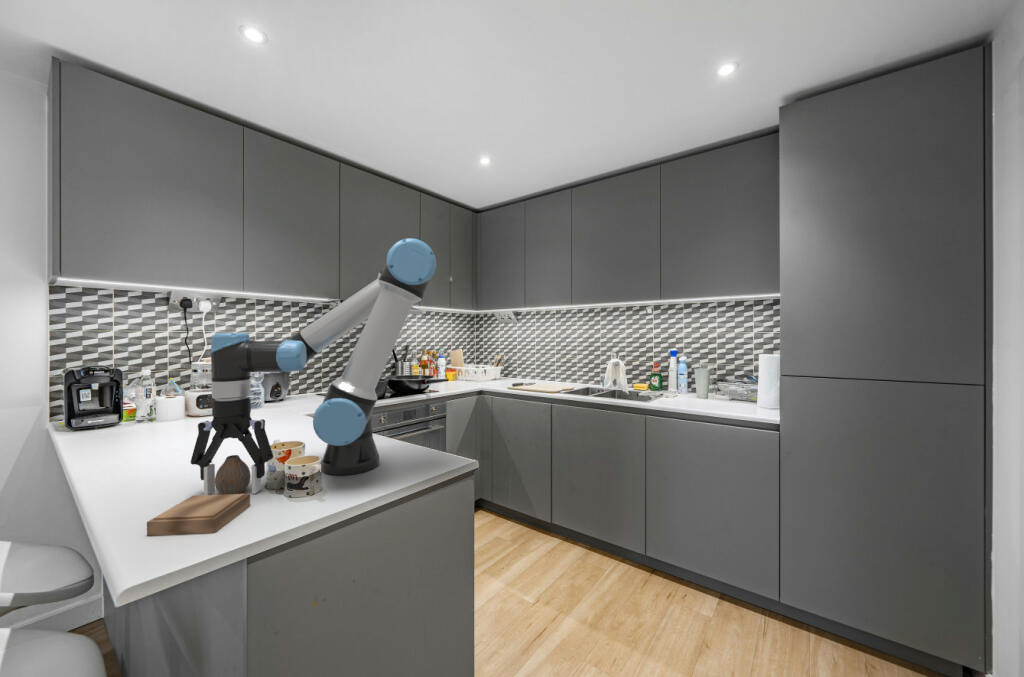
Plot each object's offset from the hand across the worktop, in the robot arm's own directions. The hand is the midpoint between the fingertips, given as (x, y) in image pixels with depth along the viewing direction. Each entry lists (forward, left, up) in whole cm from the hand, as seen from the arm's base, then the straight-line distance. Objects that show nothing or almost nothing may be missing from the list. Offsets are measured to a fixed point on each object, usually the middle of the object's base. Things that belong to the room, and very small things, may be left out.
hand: (233, 492), depth 97 cm
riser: (-2, +14, 0) cm, 14 cm away
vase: (0, 0, 0) cm, 0 cm away
